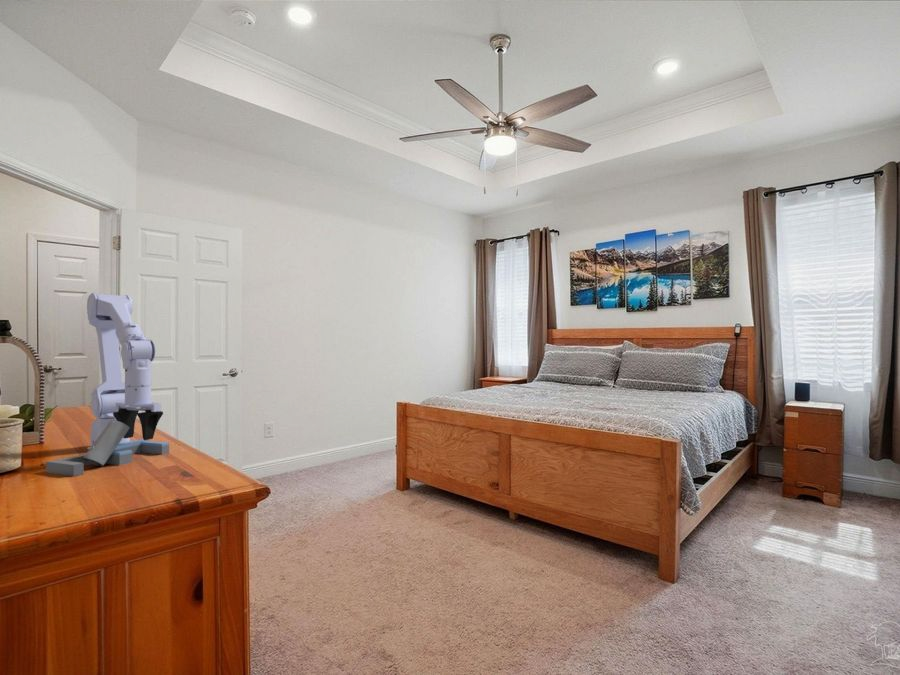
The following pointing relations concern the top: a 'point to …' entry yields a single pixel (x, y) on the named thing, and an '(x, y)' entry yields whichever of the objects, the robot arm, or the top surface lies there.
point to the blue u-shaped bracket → (133, 443)
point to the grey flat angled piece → (76, 463)
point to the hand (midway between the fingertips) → (138, 438)
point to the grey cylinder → (106, 443)
